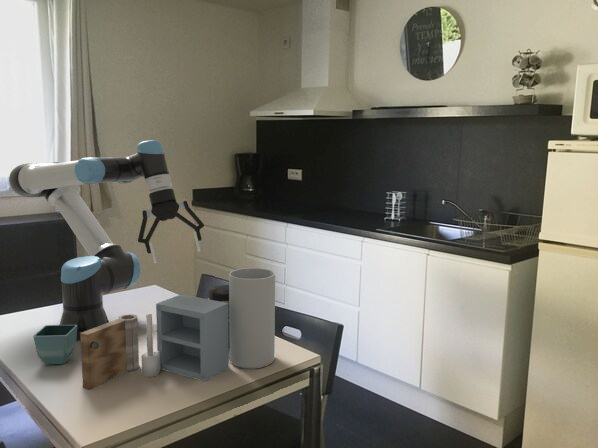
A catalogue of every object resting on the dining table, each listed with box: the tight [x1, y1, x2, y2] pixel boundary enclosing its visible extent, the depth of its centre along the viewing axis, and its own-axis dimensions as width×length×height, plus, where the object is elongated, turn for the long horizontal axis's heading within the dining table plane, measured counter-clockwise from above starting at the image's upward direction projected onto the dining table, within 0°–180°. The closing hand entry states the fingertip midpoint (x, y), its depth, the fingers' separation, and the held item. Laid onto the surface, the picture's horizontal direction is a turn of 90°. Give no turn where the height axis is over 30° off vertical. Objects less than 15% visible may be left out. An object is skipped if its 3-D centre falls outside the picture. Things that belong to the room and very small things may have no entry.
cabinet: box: [140, 294, 230, 382], centre depth 137 cm, size 18×15×18 cm
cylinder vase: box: [228, 267, 276, 370], centre depth 144 cm, size 12×12×25 cm
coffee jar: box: [207, 284, 230, 349], centre depth 155 cm, size 10×8×19 cm
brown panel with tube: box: [80, 314, 140, 391], centre depth 134 cm, size 17×5×14 cm, turn 152°
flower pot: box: [33, 324, 77, 365], centre depth 143 cm, size 9×9×9 cm
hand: (177, 257), depth 160 cm, fingers open, 13 cm apart
